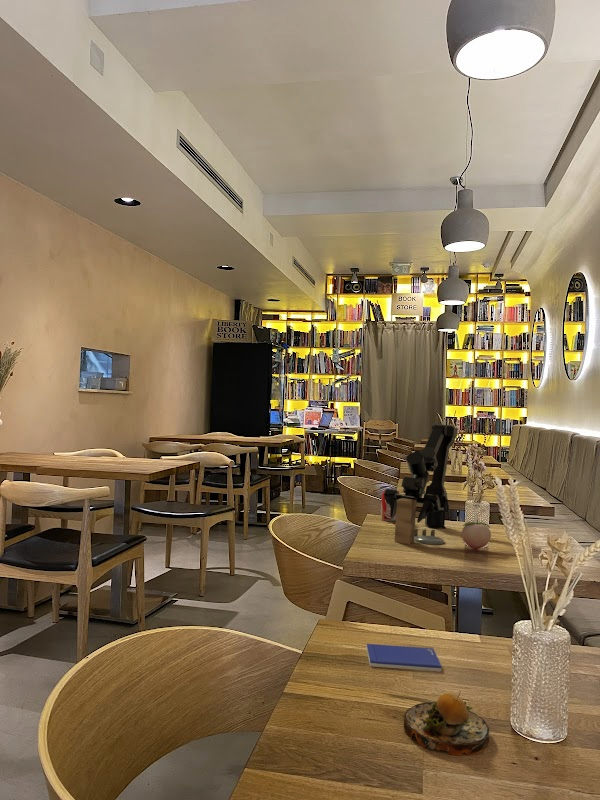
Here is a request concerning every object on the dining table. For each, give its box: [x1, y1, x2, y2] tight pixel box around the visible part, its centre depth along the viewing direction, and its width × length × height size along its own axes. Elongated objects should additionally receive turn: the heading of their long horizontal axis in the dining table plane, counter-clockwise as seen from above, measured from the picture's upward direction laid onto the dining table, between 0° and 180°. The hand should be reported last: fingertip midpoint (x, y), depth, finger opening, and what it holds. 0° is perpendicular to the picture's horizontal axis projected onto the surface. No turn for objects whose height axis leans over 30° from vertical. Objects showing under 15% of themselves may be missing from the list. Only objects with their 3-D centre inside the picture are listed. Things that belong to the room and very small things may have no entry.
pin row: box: [414, 528, 436, 537], centre depth 224 cm, size 7×1×2 cm, turn 93°
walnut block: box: [394, 498, 417, 545], centre depth 214 cm, size 5×5×14 cm
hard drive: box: [365, 643, 442, 673], centre depth 116 cm, size 2×8×12 cm
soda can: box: [380, 488, 400, 523], centre depth 251 cm, size 7×7×12 cm
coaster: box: [414, 534, 445, 546], centre depth 217 cm, size 10×10×1 cm
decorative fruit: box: [461, 518, 492, 551], centre depth 208 cm, size 9×8×10 cm
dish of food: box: [402, 690, 490, 756], centre depth 91 cm, size 12×12×8 cm
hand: (404, 519), depth 213 cm, fingers open, 9 cm apart
